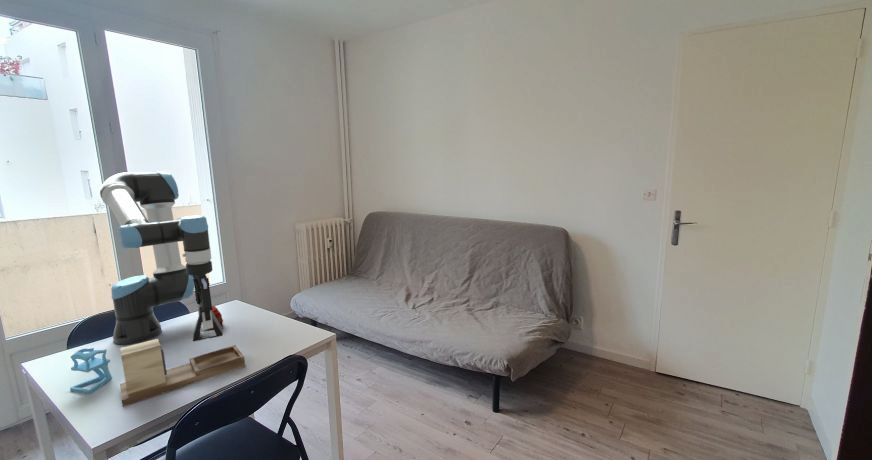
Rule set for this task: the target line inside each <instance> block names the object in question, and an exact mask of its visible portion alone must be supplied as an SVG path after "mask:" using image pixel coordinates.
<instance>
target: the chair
mask: <svg viewBox="0 0 872 460" xmlns="http://www.w3.org/2000/svg"><path fill="white" fill-rule="evenodd" d="M99 354H102V356H101V357H95V356H96V355H99ZM106 354H107V348H106V349H97V350H95V347H91V348H82V349H79V350H78V351H76V352H73V354H72V355H71V356H70V359H71V361H72V362H73V363H74V364H73V366H72V367H70V369H71V371H73V372H74V371H75V372H76V371H77V372H83V373H87V374H88V373H90V372H92V371H93V372H94V373H95V374H96V375H98V376H96V377H94V378H92V379H90V380H86V381H84V382H81V383H77V384H75V385H73V386H71V387H70V388H69V389H70V391H71V392H75V393H82V394H92V393H94V392H95V391H96V390H97V389H99V388H100V387H102V386H103V385H105V383H107V382H108V381H110V380H112V379H113V377H112V373H111V372H110V369H109V363H111V358H110V359H109V358H106ZM78 360H81V361H84V362H80V363H79V362H78ZM96 382H98V383H96ZM93 383H96V384H95V385H94V386H93V387H91V388H89V389H88V388H87V389H86V388H81V387H85V386H87V385H90V384H93Z"/></svg>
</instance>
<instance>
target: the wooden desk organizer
mask: <svg viewBox="0 0 872 460" xmlns="http://www.w3.org/2000/svg"><path fill="white" fill-rule="evenodd" d="M188 360H189V361H188V363H185V364H181V365H178V366H175V367H172V368H169V369H166V371H167V375H165V380H166V382H165V383H162V384H159V385H156V386H152V387H149V388H146V389H143V390H140V391H137V392H134V393H130V394H128V392H127V386H126V381H125V382H122V383H119V390H120V397H121V403H122V407H123V408H124V407H126V406H131V405H132V404H135V403H138V402H141V401H144V400H147V399H150V398H154V397H156V396H159V395H162V394H165V393H169V392H172V391H175V390H178V389H181V388H183V387H186V386H187V387H188V386H190V385H193V384H195V383H199V382H201V381H204V380H208V379H211V378H213V377H217V376H219V375H223V374H226V373H228V372H231V371H235V370H238V369H240V368H243V367H246V361H245V355H244V354H243V352H241V351H240V349H239V347H237V345H236V344H234V345H229V346H228V347H225V348H221V349H218V350H213V351H211V352H207V353H203V354H200V355H196V356H194V357H190V358H189V359H188Z"/></svg>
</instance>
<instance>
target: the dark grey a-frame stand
mask: <svg viewBox="0 0 872 460" xmlns="http://www.w3.org/2000/svg"><path fill="white" fill-rule="evenodd" d="M199 311H202V305H201V303H200V309H199ZM211 313H212V321H213V329H214V330H205V331H201V329H202V325H203V323H202V319H203V318H202V313H200V314H198V317H197V320H196V324H195V328H194V332H193V334H192V335H193V336H192V342H197V341H203V340H207V339H213V338H217V337H223V327H222V326H221V325H220V323H219V322H218V320H217V318H216V317H215V315H214V313H213V312H212V310H211Z"/></svg>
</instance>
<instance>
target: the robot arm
mask: <svg viewBox="0 0 872 460" xmlns="http://www.w3.org/2000/svg"><path fill="white" fill-rule="evenodd" d="M99 195H100V196H99V197H100V198H101V200H102V202H103V203H104V205H106V206H108V207H109V208H110V209H111V212H112V213H113V215H114V217H115V219H116V220H117V222H118V224H119V226H118V227H117V238H118V239H117V240H118V242H119V245H120V247H121V248H123V249H140V248H144V247H150V246H152V250H153V255H154V260H155V265H156V268H155V270H154V271H153V272H152V275H153V277H148V276H147V275H145V274H142V275H135V276H131V277H127V278H125V279H121V280H119V281H117V282H116V283H114V284H113V285H112V286H111V288H110V290H111V300H112V303H113V310H114V315H115V327H114V330H113V335H112V340H113V343H114V344H115V345H130V344H131V345H133V344H138V343H142V342H146V341H149V340H150V339H152V338H155V337H157V336H158V335H160V334H161V332H162V325H161V323H160V321H159V320H158V319H157V317H156V315H155V313H154V307H158V306H162V305H166V304H170V303H171V304H172V303H175V302H181V301H183V300H186V299H190V298H191V297H192V296H193V294H194V293H195V294H194V295H195V296H194V297H195V301H196V304H197V313H198V315H199V314H200V313H202V318H203V319H202V325H203V330H204V331H207V329H210V328H213V321H212V313H211V310H212V309H213V308H212V306H213V304H212V296H211V290H210V289H211V287H210V282H209V277H207V274H210V273H212V271H213V262H212V251H211V245H210V244H211V243H210V236H209V235H210V234H209V225H208V221H207V217H205V216H204V215H187V216H183V217H179V218H176V219H174V215H173V214H174V213H173V210H172V209H173V206H174V205H175V204H176V201H175V200H177V199H179V195H180V194H179V188H178V185H177V181H176V180H175V177H174V176H173V175H172V174H171V173H170V172H166V171H138V172H134V171H133V172H128V171H127V172H120V173H116V174H114V175H112V176H110V177H108V178H107V179H106V180H105V181H104V182H103V183H102V184H101V186H100V191H99ZM137 202H139V204H138V203H137ZM139 205H140V206H139ZM141 208H142V209H143V210H145V211H146V215H145V213H144V212H143V210H142V209H141ZM179 242H182V245H183V252H184V253H183V254H182V257H183V258H184V260H185V263H186V264H185V265H184V264H183V263H182V261H181V259H182V258H181V252H180V248H179ZM200 303H201V305H202V311H199V309H200Z"/></svg>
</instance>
